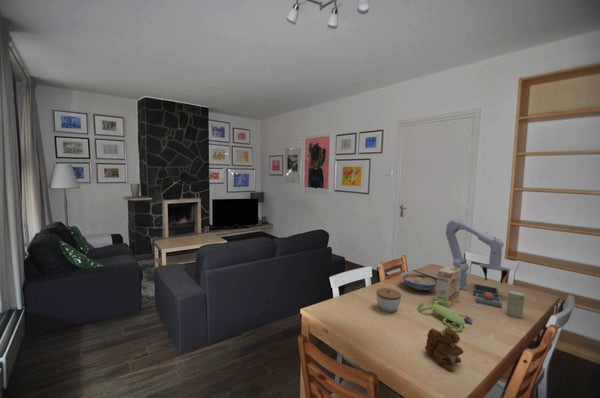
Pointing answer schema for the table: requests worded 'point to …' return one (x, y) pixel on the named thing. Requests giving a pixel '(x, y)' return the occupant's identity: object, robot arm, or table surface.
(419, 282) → the ramen bowl
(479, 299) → the tray
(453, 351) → the stuffed squirrel
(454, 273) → the coffeecake box
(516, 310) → the skincare box
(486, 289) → the grey square frame
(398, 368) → the table surface
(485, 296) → the ball
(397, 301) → the lidded bowl
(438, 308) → the figurine
